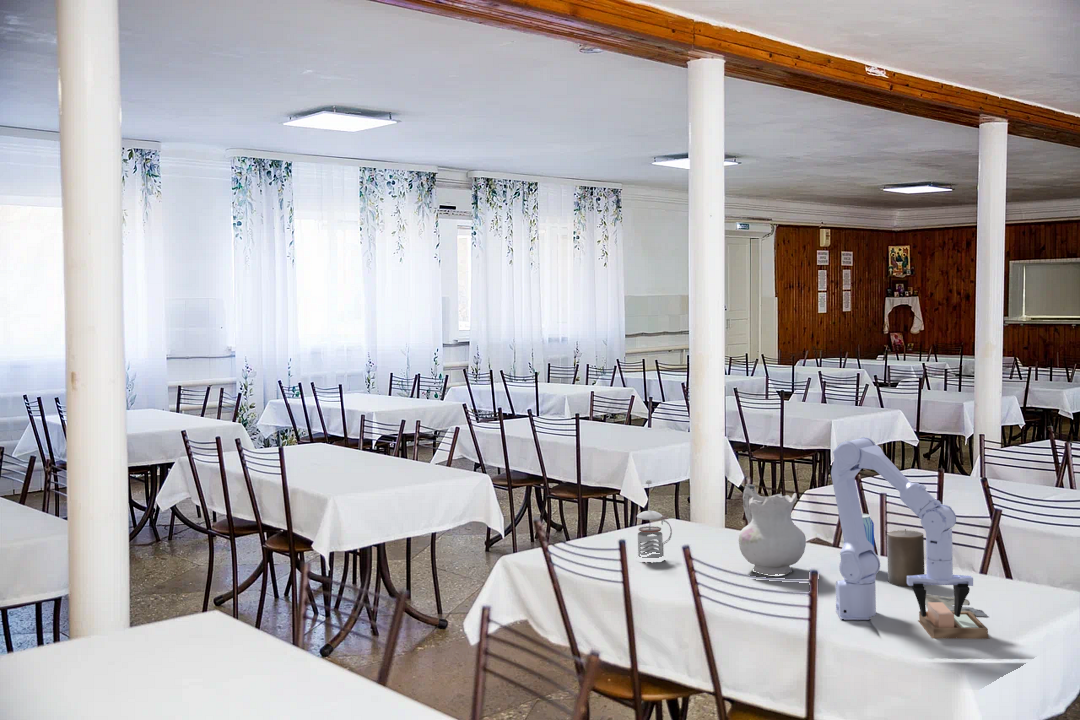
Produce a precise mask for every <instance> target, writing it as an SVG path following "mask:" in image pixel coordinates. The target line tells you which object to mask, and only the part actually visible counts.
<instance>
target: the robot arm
mask: <svg viewBox="0 0 1080 720" xmlns="http://www.w3.org/2000/svg"><path fill="white" fill-rule="evenodd" d="M832 453H833V462H832V466H831V470H830V475H831V476H830V477H831V481H832V486H833V491H834V496H835V502H836V507H837V512H838V517H839V522H840V526H841V532H842V537H843V545H842V548H841V549H840V551H839V552H840V553H839V556H840V563H839V572H840V574H841V575H840V576H842V577H843V579H842V580H840V579H839V580H836V581H835V612H836V614H837V615H838V618H839V619H840V620H842V619H844V621H845V620H847V621H848V620H849V621H859V620H860V621H861V620H863V621H871V617H874V616H876V615H877V601H876V600H877V599H876V598H877V597H876V596H877V595H876V594H877V592H876V588H877V587H876V578H877V577H876V575H877V574H878V572H879V571H880V569H881V559H880V558H879V557H878V555H877V553H876V552H875V546H874V547H873V545H872V544H871V543H870V542H869V541H868V540H867V538H866V533H865V528H864V523H863V518H862V508H861V502H860V500H859V499H860V498H859V493H858V489H857V483H856V476H857V475H858V473H859V472H860V471H861V470H862V469H864V470H874V471H875V472H876V473H877V474H879V476H881V478H883V479H884V480H886V482H888V484H890V485H891V486H893V487H894V489H896V490H897V491H898V492H899V499H900V501H901V502H902V503H904V505H905V506H906V507H907V508H908V509H910V510H911V512H913V513H914V514H915V515H916V516H917V517H918V518H919V519H920V524H921V526H922V529H924V532H925V551H926V552H925V553H926V554H925V557H926V560H925V561H926V562H925V563H926V574H925V573H924V575H913V576H907V584H908V585H909V586H908V587H910V588H911V589H912V590H913V593H914V595H915V598H916V600H917V603H918V608H919V611H920V613H921V615H922V616H923V617H926V611H927V607H926V605H925V600H926V594H927V590H926V588H925V586H952V587H953V595H954V596H953V597H954V599H955V601H954V605H953V606H954V613H955V615H956V616H957V617H960V613H961V609H962V607H964V605H963V603H964V601H965V599H967V596H968V595H969V593H970V590H971V589H970V587H973V586H974V577H973V576H972V575H961V574H960V575H959V574H953V573H954V572H953V569H954V568H953V567H954V566H953V565H954V564H953V527H955V525H956V523H957V515H956V513H955V511H954V510H953V509H952V507H951V506H949V505H947V504H942V501H940V500H939V499H936V498H935V497H934V496H933V495H932V494H931V493H929V492H928V490H926V489H927V486H925V485H924V484H920V483H919V482H917V481H915V482H911V481H910V480H909V479H908V478H907V477H906V476H905V474H904V473H903V472H901V470H900V469H899V468H898V467H897V466H896V465H895V464H894V463H893V462H892V461H891V459H890V458H888V457H887V456H886V455H885V452H884V450H883V449H882V448H881V447H880V445H877V444H876V443H875V442H874V440H873V439H872V438H870V437H861V438H860V437H859V438H857V439H853V440H845V441H842V442H840V443H839V444H838V446H837V447H836V448H835V449H834V450H833V451H832Z"/></svg>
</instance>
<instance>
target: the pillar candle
mask: <svg viewBox="0 0 1080 720" xmlns="http://www.w3.org/2000/svg"><path fill="white" fill-rule="evenodd" d="M924 538H925V537H924V533H923V532H920V531H916V530H907V529H906V528H905V529H904V530H903V529H901V530H891V531H888V532H886V539H887V540H886V541H887V542H886V544H887V548H886V549H887V580H888V581H887V582H888V583H889V584H890V585H896V586H901V587H910V586H909V585H908V584H907V576H913V575H924V574H925V548H924V547H925V542H924V541H925V539H924Z"/></svg>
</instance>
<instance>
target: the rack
mask: <svg viewBox="0 0 1080 720" xmlns="http://www.w3.org/2000/svg"><path fill="white" fill-rule="evenodd" d="M951 612H952V613H953V614H955V613H954V611H951ZM918 614H919V615H918V616H919V617H918V618H919V620H917V622H918V623H919V624H920V625H921V626H922V628H923V629H924V631H926V633H927V634H928V635H929V636H930V638H931V639H957V640H958V639H962V640H963V639H967V640H968V639H969V640H970V639H971V640H973V639H975V640H980V639H981V640H982V639H984V640H985V639H986V640H990V639H991V638H990V637H989V629H988V627H987V626H986V625H985V624H984V623H982V621H981V620H979V618H978V617H975V616H974V615H973V614H972V613H971V612H963V611H961V613H960V615H967V616H968V617H969V618H970V619H971V620H972V621H973V622H974V623H975V624H976V625H977V626H978V627H979V628H961V627H960V625H959V624H958V623H957V622H956V621H955V620H954V628H936V626H935V625H934V624H933V623H932V622H931V621H930V619H929V618H928V610H926V617H923V616H922V615H921V613H920V610H919V612H918Z"/></svg>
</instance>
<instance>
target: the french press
mask: <svg viewBox="0 0 1080 720" xmlns="http://www.w3.org/2000/svg"><path fill="white" fill-rule="evenodd" d="M652 484H653V483H652V480H651V479H648V480H647V479H646V480H645V485H647V486H650V485H652ZM650 501H651V500H650V498H648V510H645V511H642V512H640V513H638V514H637V515H636V518H637V519H639V520H642V521H643V520H645V521H649V525H648V526H646V525H645V526H642V527H641V526H640V527H638V531H639V532H637V557H638V556H639V557H641V556H640V554H641V555H647V554H649V553H652V552H656V553H660V554H651V555H649V556H647V557H642V558H659V557H662V556H664V557H665V555H664V552H665V551H664V545H665V544H667V543H668V542H670V540H671V538H672V534H673V529H672V527H671V525H670V522H668V521H667V520H665V519H662V517H663V514H662V513H660V512H658V511H655V510H651V505H650ZM660 519H661V521H660V522H661V525H664V522H665V523H666V524H667V526H669V528H670V529H669V530H670V534H669V537H668V538H667V539H666V540H663V532H661V530H662V527H660V526H651V521H656V520H660ZM650 535H651V536H650ZM645 552H647V553H645Z"/></svg>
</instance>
